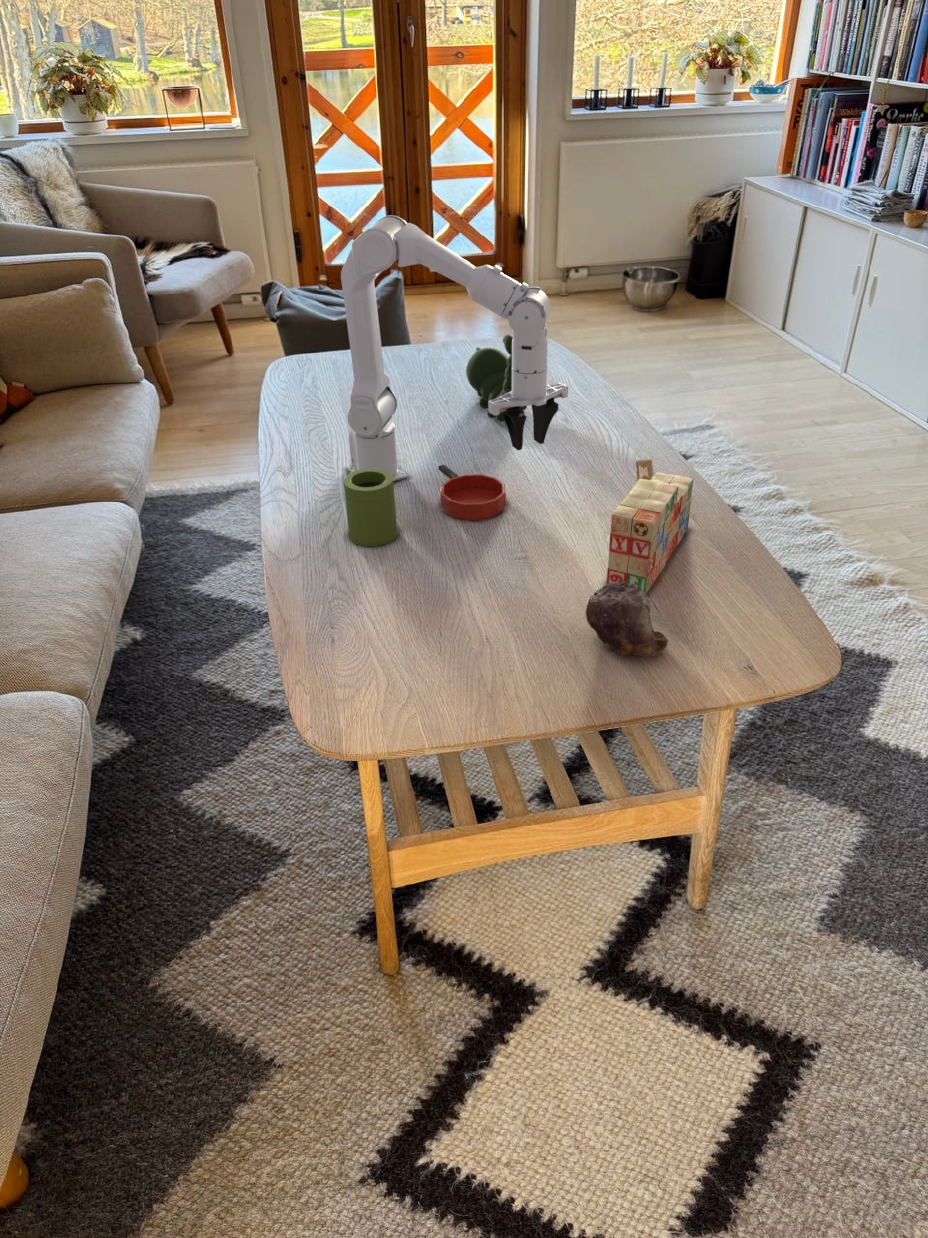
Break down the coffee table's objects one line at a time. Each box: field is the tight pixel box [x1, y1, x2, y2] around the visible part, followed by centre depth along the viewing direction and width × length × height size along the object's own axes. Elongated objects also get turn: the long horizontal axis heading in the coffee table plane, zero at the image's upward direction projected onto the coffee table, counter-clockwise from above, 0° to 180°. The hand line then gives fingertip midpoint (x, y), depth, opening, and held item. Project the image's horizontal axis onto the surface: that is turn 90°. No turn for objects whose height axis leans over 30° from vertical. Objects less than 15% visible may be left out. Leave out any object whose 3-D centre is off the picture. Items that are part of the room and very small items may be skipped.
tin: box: [635, 458, 654, 484], centre depth 155 cm, size 15×3×8 cm, turn 173°
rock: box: [585, 581, 669, 657], centre depth 126 cm, size 12×9×10 cm
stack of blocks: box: [605, 471, 694, 595], centre depth 143 cm, size 21×6×12 cm, turn 152°
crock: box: [343, 468, 398, 547], centre depth 152 cm, size 8×8×10 cm
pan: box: [437, 464, 507, 521], centre depth 163 cm, size 17×11×3 cm, turn 30°
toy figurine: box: [465, 334, 528, 422], centre depth 191 cm, size 9×19×25 cm
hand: (528, 444), depth 162 cm, fingers open, 4 cm apart
